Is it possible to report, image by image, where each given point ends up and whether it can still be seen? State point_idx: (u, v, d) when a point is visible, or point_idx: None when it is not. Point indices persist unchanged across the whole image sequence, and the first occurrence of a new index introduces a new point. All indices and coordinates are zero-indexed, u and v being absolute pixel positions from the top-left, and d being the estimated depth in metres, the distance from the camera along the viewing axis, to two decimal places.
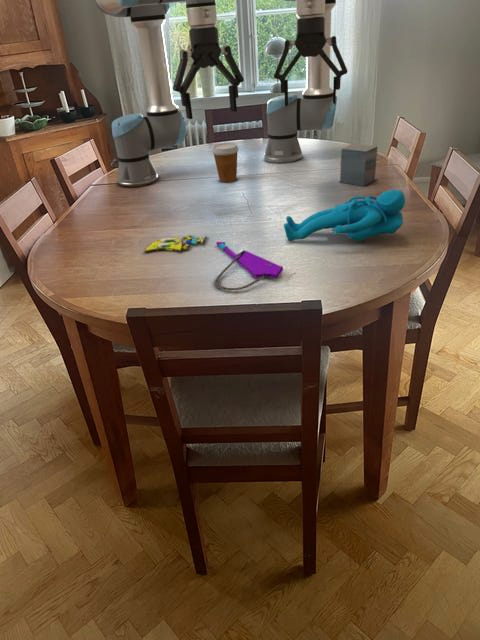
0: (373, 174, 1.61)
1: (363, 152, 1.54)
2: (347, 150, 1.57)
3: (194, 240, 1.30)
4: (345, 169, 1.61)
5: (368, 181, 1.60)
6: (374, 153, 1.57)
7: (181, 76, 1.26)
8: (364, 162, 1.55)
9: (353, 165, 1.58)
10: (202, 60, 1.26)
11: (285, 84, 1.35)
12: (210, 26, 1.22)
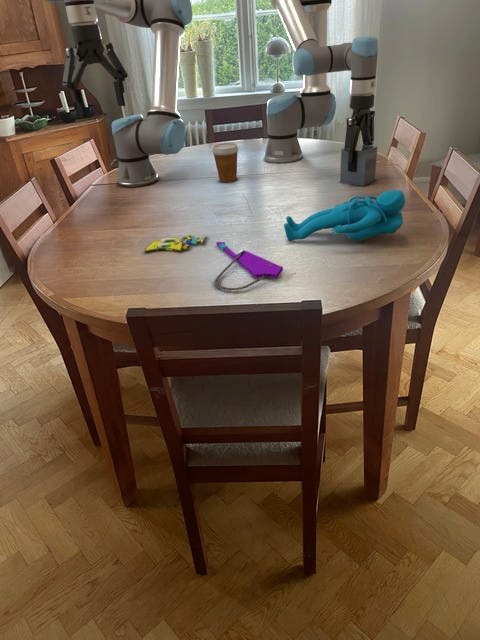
0: (373, 174, 1.61)
1: (363, 152, 1.54)
2: None
3: (194, 240, 1.30)
4: (345, 169, 1.61)
5: (368, 181, 1.60)
6: (374, 153, 1.57)
7: (70, 72, 1.28)
8: (364, 162, 1.55)
9: None
10: (88, 56, 1.30)
11: (356, 154, 1.55)
12: (93, 23, 1.27)
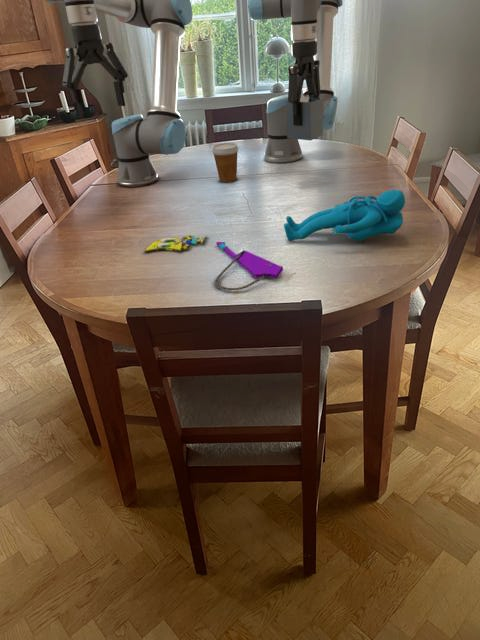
0: (320, 128, 1.55)
1: (308, 103, 1.47)
2: None
3: (194, 240, 1.30)
4: (291, 123, 1.54)
5: (315, 135, 1.54)
6: (320, 105, 1.51)
7: (70, 72, 1.28)
8: (309, 114, 1.48)
9: None
10: (88, 56, 1.30)
11: (300, 106, 1.48)
12: (93, 23, 1.27)
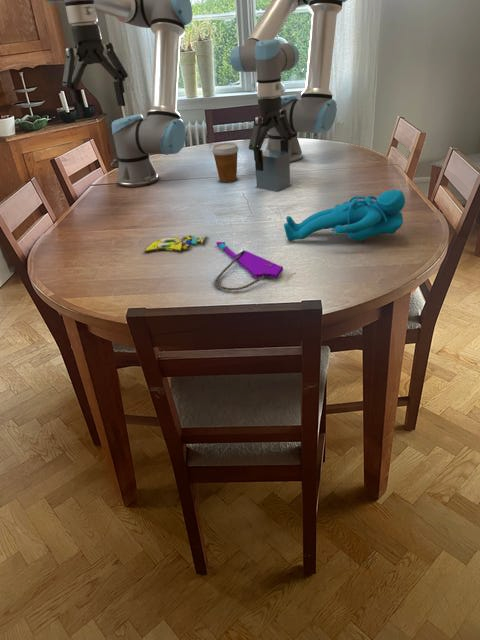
0: (287, 179, 1.64)
1: (273, 158, 1.56)
2: None
3: (194, 240, 1.30)
4: (259, 174, 1.63)
5: (282, 186, 1.63)
6: (286, 159, 1.60)
7: (70, 72, 1.28)
8: (275, 167, 1.57)
9: (266, 170, 1.60)
10: (88, 56, 1.30)
11: (261, 153, 1.54)
12: (93, 23, 1.27)
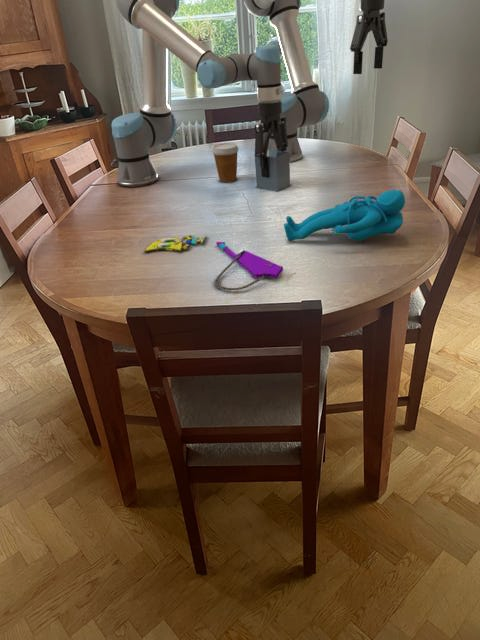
0: (287, 179, 1.64)
1: (273, 158, 1.56)
2: None
3: (194, 240, 1.30)
4: (259, 174, 1.63)
5: (282, 186, 1.63)
6: (286, 159, 1.60)
7: (262, 144, 1.53)
8: (275, 167, 1.57)
9: None
10: (272, 127, 1.54)
11: (362, 54, 1.54)
12: (278, 101, 1.50)
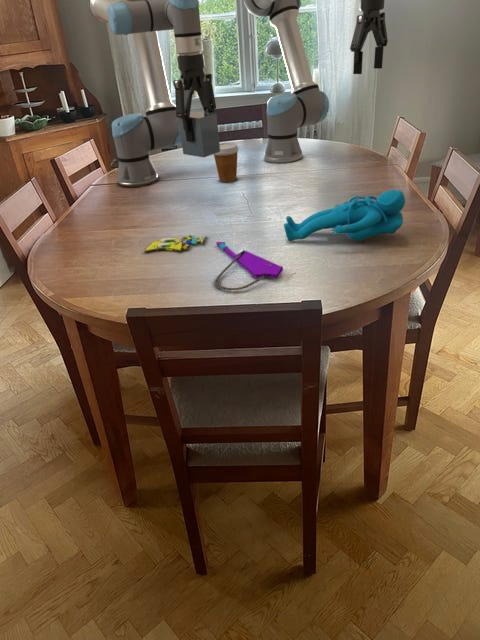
0: (216, 145, 1.48)
1: (197, 119, 1.40)
2: None
3: (194, 240, 1.30)
4: (185, 139, 1.47)
5: (210, 152, 1.47)
6: (213, 121, 1.44)
7: (183, 103, 1.37)
8: (200, 130, 1.41)
9: None
10: (194, 84, 1.37)
11: (362, 54, 1.54)
12: (199, 53, 1.34)
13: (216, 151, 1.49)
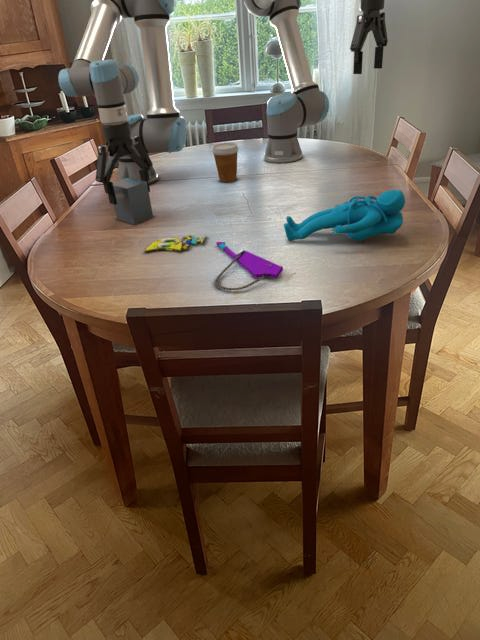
0: (148, 211, 1.48)
1: (125, 189, 1.40)
2: (113, 186, 1.44)
3: (194, 240, 1.30)
4: (117, 205, 1.47)
5: (141, 219, 1.47)
6: (143, 189, 1.44)
7: (103, 168, 1.36)
8: (128, 199, 1.42)
9: (122, 202, 1.45)
10: (119, 151, 1.37)
11: (362, 54, 1.54)
12: (123, 122, 1.34)
13: (148, 217, 1.49)
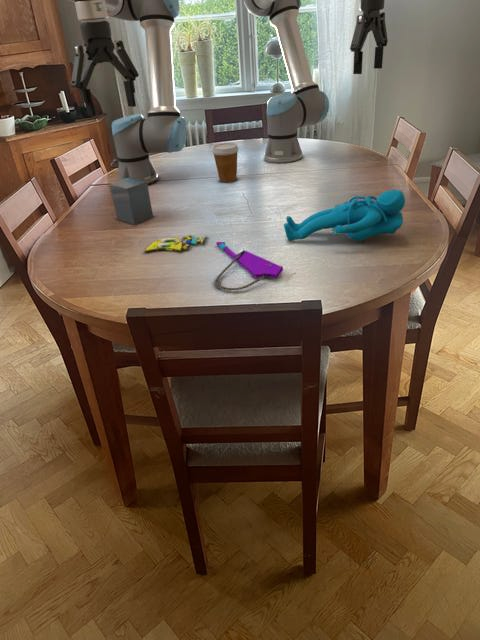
0: (148, 211, 1.48)
1: (125, 189, 1.40)
2: (113, 186, 1.44)
3: (194, 240, 1.30)
4: (117, 205, 1.47)
5: (141, 219, 1.47)
6: (143, 189, 1.44)
7: (80, 71, 1.22)
8: (128, 199, 1.42)
9: (122, 202, 1.45)
10: (98, 55, 1.24)
11: (362, 54, 1.54)
12: (103, 20, 1.21)
13: (148, 217, 1.49)
